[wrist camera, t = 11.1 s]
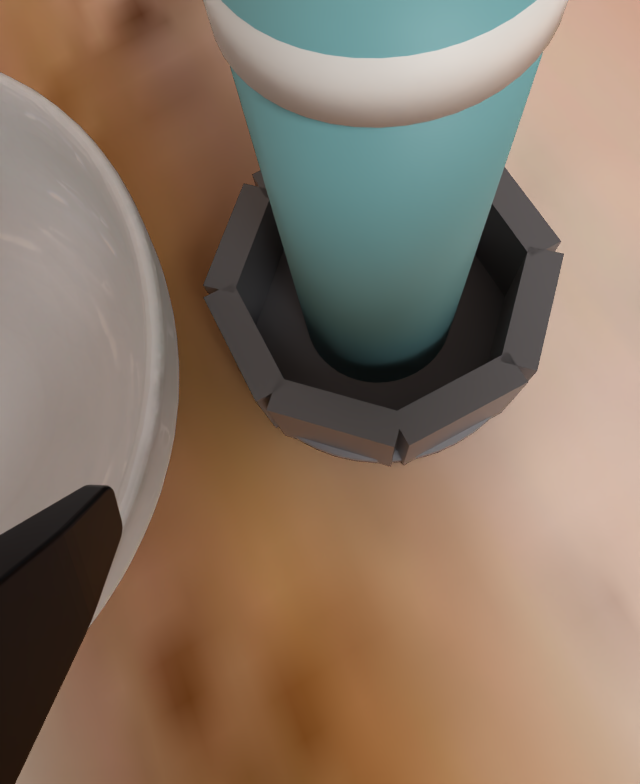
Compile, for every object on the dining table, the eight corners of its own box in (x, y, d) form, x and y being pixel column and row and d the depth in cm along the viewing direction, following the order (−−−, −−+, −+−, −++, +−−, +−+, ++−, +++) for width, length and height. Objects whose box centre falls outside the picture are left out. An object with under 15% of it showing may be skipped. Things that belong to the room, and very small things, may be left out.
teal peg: (483, 340, 19) (692, -68, 7) (346, 412, 19) (293, 129, 6) (406, 223, 20) (456, -291, 8) (278, 288, 20) (125, -139, 8)
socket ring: (591, 371, 19) (638, 331, 16) (315, 519, 18) (302, 511, 15) (431, 147, 22) (441, 74, 18) (190, 270, 21) (156, 217, 18)
